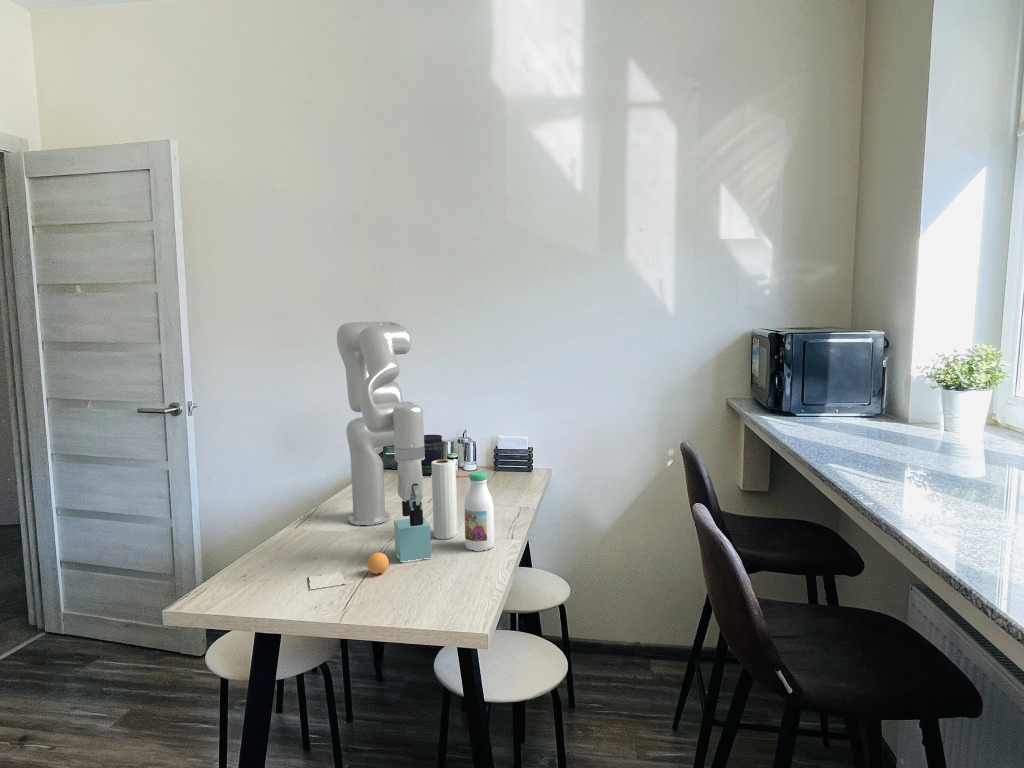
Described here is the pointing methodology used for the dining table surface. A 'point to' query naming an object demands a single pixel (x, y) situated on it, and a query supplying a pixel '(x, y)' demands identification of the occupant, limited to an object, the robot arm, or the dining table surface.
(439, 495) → the paper towel roll
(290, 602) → the dining table surface
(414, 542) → the light teal cube-like block
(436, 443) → the storage jar
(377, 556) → the ball
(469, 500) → the milk bottle
